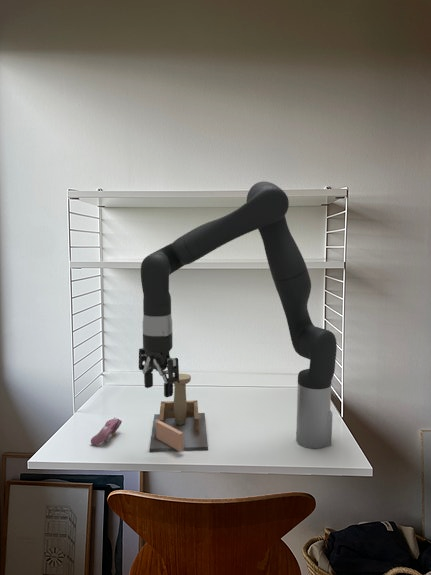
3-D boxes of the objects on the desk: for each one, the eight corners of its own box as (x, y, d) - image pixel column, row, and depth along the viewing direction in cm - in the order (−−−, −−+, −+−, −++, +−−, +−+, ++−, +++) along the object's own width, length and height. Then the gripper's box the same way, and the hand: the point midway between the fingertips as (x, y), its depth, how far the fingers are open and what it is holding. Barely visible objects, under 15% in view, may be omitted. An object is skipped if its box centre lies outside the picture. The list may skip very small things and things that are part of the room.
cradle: (204, 415, 154) (204, 398, 153) (208, 450, 132) (207, 429, 131) (154, 417, 153) (153, 399, 152) (149, 452, 131) (149, 431, 130)
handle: (171, 419, 149) (170, 373, 146) (191, 420, 148) (191, 374, 145) (168, 426, 144) (167, 378, 141) (189, 427, 143) (189, 379, 141)
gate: (183, 449, 129) (183, 432, 129) (179, 451, 128) (179, 434, 128) (157, 435, 138) (157, 418, 137) (153, 436, 137) (152, 420, 136)
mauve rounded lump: (101, 452, 134) (111, 433, 132) (88, 444, 135) (97, 424, 133) (117, 436, 143) (126, 418, 141) (105, 428, 144) (113, 410, 142)
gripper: (129, 328, 125) (130, 387, 127) (162, 339, 114) (163, 403, 117) (153, 323, 130) (154, 381, 132) (186, 333, 119) (187, 395, 122)
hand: (158, 391), depth 125 cm, fingers open, 8 cm apart
